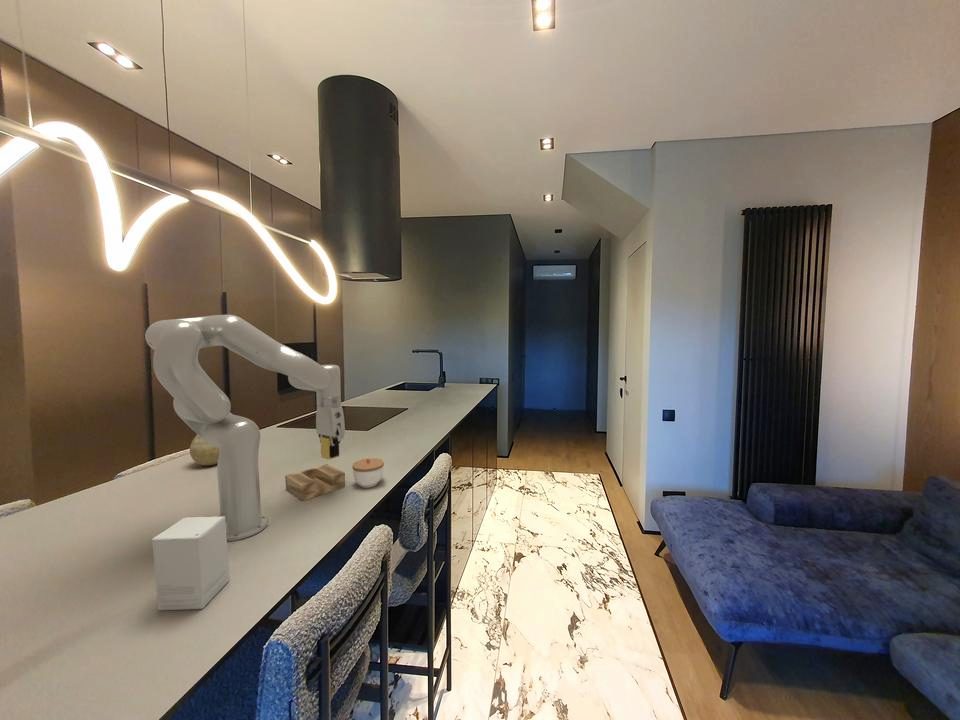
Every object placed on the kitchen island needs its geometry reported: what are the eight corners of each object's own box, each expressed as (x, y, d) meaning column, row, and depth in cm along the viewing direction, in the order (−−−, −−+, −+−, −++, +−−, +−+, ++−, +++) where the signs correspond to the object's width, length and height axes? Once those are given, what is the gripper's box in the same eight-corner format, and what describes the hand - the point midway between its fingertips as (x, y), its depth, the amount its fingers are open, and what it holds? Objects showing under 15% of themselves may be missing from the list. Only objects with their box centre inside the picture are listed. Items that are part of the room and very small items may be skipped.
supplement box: (231, 579, 83) (227, 515, 82) (203, 610, 74) (198, 537, 73) (189, 580, 83) (184, 515, 82) (155, 611, 74) (150, 538, 73)
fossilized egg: (200, 472, 145) (197, 434, 144) (184, 466, 152) (182, 430, 150) (235, 462, 156) (233, 427, 155) (219, 457, 163) (217, 423, 161)
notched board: (302, 501, 121) (301, 486, 121) (285, 489, 130) (285, 475, 129) (345, 486, 132) (345, 472, 132) (327, 476, 141) (327, 463, 141)
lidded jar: (346, 487, 132) (345, 461, 131) (368, 476, 142) (367, 452, 141) (369, 493, 127) (368, 466, 126) (390, 481, 137) (389, 456, 136)
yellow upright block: (328, 459, 124) (328, 438, 124) (321, 457, 126) (321, 436, 126) (339, 456, 128) (338, 436, 127) (332, 454, 130) (331, 434, 129)
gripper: (354, 402, 124) (355, 457, 125) (324, 397, 133) (325, 448, 135) (334, 406, 118) (335, 463, 119) (304, 400, 127) (305, 453, 129)
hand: (330, 454), depth 127 cm, fingers closed on yellow upright block, 4 cm apart
